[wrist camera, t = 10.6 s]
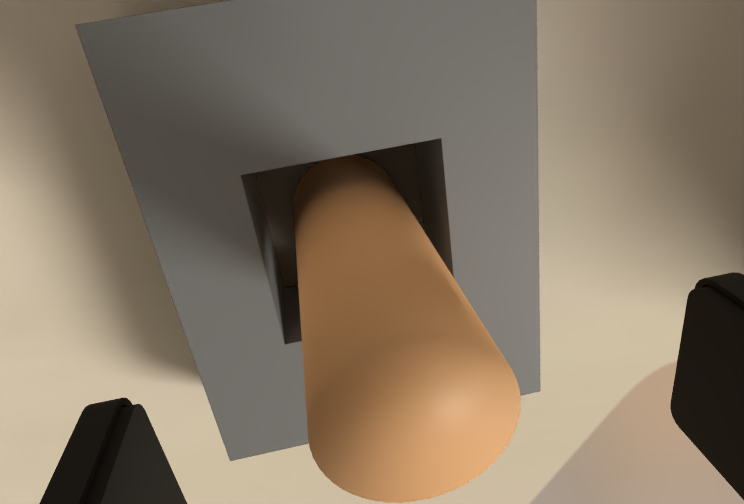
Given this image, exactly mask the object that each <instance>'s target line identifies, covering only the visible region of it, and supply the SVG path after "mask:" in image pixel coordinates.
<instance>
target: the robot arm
mask: <svg viewBox="0 0 744 504" xmlns="http://www.w3.org/2000/svg"><path fill="white" fill-rule="evenodd" d="M671 412H672V416H673V418H674V420H675V422H676V424H677V425H678V426H679V428H680V429H681V430H682V431H683V432H684V433H685V434H686V435H687V437H688V438H689V439H690V440H691V441H692V442H693V443H694V444H695V446H696V447H697V448H698V449H699V450H700V451H701V452H702V453H703V454H704V456H705V457H706V458H707V459H708V460H709V461H710V462H711V464H712V465H713V466H714V467H715V468H716V469H717V470H718V472H719V473H720V474H721V475H722V476H723V477H724V478H725V479H726V481H727V482H728V483H729V484H730V485H731V486H732V487H733V488H734V489H735V491H736V492H737V493H738V494H739V495H740V496H741V497H742V499H743V500H744V275H742V274H740V273H728V274H723V275H718V276H714V277H709V278H704V279H702V280H699V281H698V283H697V284H696V286H695V289H694V290H691V292H690V293H689V295H688V299H687V305H686V311H685V318H684V324H683V330H682V336H681V342H680V349H679V355H678V361H677V368H676V374H675V380H674V386H673V392H672V398H671ZM40 504H187V502H186V500H185V498H184V496H183V494H182V491H181V489H180V487H179V485H178V482H177V480H176V478H175V476H174V474H173V471H172V469H171V467H170V465H169V462H168V460H167V458H166V456H165V454H164V451H163V449H162V447H161V445H160V443H159V440H158V438H157V436H156V434H155V431H154V429H153V427H152V425H151V423H150V420H149V418H148V416H147V414H146V412H145V410H144V408H143V406H142V405H140V404H136V405H132V403H131V402H130V400H128V399H127V398H120V399H115V400H110V401H105V402H100V403H95V404H90V405H88V406H86V407H85V409H84V410H83V412H82V414H81V416H80V418H79V420H78V422H77V424H76V426H75V429H74V431H73V433H72V435H71V437H70V439H69V441H68V444H67V446H66V448H65V450H64V452H63V454H62V457H61V459H60V461H59V463H58V465H57V467H56V469H55V472H54V474H53V476H52V478H51V480H50V482H49V484H48V487H47V489H46V491H45V493H44V495H43V497H42V499H41V502H40Z"/></svg>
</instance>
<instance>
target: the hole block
mask: <svg viewBox="0 0 744 504" xmlns="http://www.w3.org/2000/svg"><path fill="white" fill-rule="evenodd" d="M75 26H76V29H77V32H78V35H79V38H80V40H81V43H82V46H83V49H84V52H85V54H86V57H87V60H88V63H89V66H90V68H91V71H92V74H93V77H94V80H95V83H96V85H97V88H98V91H99V94H100V97H101V99H102V102H103V105H104V108H105V111H106V113H107V116H108V119H109V122H110V125H111V128H112V130H113V133H114V136H115V139H116V142H117V144H118V147H119V150H120V153H121V156H122V158H123V161H124V164H125V167H126V170H127V173H128V175H129V178H130V181H131V184H132V187H133V189H134V192H135V195H136V198H137V201H138V203H139V206H140V209H141V212H142V215H143V218H144V220H145V223H146V226H147V229H148V232H149V234H150V237H151V240H152V243H153V246H154V248H155V251H156V254H157V257H158V260H159V262H160V265H161V268H162V271H163V274H164V277H165V279H166V282H167V285H168V288H169V291H170V293H171V296H172V299H173V302H174V305H175V307H176V310H177V313H178V316H179V319H180V322H181V324H182V327H183V330H184V333H185V336H186V338H187V341H188V344H189V347H190V350H191V352H192V355H193V358H194V361H195V364H196V367H197V369H198V372H199V375H200V378H201V381H202V383H203V386H204V389H205V392H206V395H207V397H208V400H209V403H210V406H211V409H212V411H213V414H214V417H215V420H216V423H217V426H218V428H219V431H220V434H221V437H222V440H223V442H224V445H225V448H226V451H227V454H228V456H229V459H230V461H233V460H237V459H242V458H246V457H251V456H255V455H260V454H264V453H268V452H273V451H277V450H282V449H286V448H291V447H295V446H300V445H304V444H308V443H309V440H308V429H307V413H306V398H305V382H304V366H303V351H302V335H301V320H300V304H299V289H298V286H294V287H289V288H284V287H283V283H282V279H281V275H280V271H279V267H278V263H277V259H276V255H275V251H274V246H273V242H272V238H271V234H270V230H269V226H268V222H267V218H266V214H265V210H264V206H263V202H262V198H261V194H260V190H259V186H258V182H257V178H256V174H255V172H260V171H266V170H271V169H277V168H282V167H288V166H293V165H298V164H304V163H309V162H315V161H320V160H326V159H331V158H336V157H342V156H347V155H353V154H358V153H364V152H369V151H374V150H380V149H385V148H391V147H396V146H402V145H407V144H412V143H415V147H416V156H417V165H418V174H419V183H420V192H421V201H422V210H423V219H424V228H425V234H426V235H427V237H428V238H429V240H430V241H431V243H432V245H433V246H434V248H435V249H436V251H437V252H438V254H439V256H440V257H441V259H442V260H443V262H444V263H445V265H446V267H447V268H448V270H449V271H450V273H451V274H452V276H453V278H454V279H455V281H456V282H457V284H458V286H459V287H460V289H461V290H462V292H463V293H464V295H465V297H466V298H467V300H468V301H469V303H470V304H471V306H472V308H473V309H474V311H475V312H476V314H477V315H478V317H479V319H480V320H481V322H482V323H483V325H484V326H485V328H486V330H487V331H488V333H489V334H490V336H491V337H492V339H493V341H494V342H495V344H496V345H497V347H498V348H499V350H500V352H501V353H502V355H503V356H504V358H505V359H506V361H507V363H508V364H509V366H510V367H511V369H512V371H513V373H514V375H515V377H516V379H517V382H518V386H519V389H520V396H521V395H526V394H530V393H535V392H539V391H540V309H539V209H538V109H537V8H536V0H229V1H222V2H216V3H210V4H203V5H197V6H191V7H185V8H178V9H172V10H166V11H159V12H153V13H147V14H140V15H134V16H128V17H121V18H115V19H109V20H103V21H96V22H90V23H84V24H77V25H75Z"/></svg>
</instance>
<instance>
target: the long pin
mask: <svg viewBox="0 0 744 504" xmlns="http://www.w3.org/2000/svg"><path fill="white" fill-rule="evenodd" d="M293 211H294V226H295V242H296V257H297V273H298V289H299V304H300V320H301V335H302V351H303V366H304V382H305V398H306V413H307V429H308V440H309V446H310V450H311V452H312V455H313V458H314V460H315V461H316V463H317V465H318V467H319V468H320V469H321V471H322V472H323V473H324V474H325V476H326V477H328V478H329V479H330V480H331V481H332V482H333V483H334V484H336V485H337V486H339V487H340V488H342V489H343V490H345V491H347V492H349V493H352V494H354V495H356V496H359V497H362V498H365V499H370V500H375V501H382V502H411V501H418V500H424V499H429V498H432V497H436V496H439V495H442V494H445V493H447V492H450V491H452V490H454V489H456V488H458V487H460V486H462V485H464V484H466V483H468V482H469V481H471V480H472V479H474V478H476V477H477V476H478V475H479V474H481V473H482V472H483V471H485V470H486V469H487V468H488V467H489V466H490V465H491V464H492V463H493V462H494V461H495V460H496V459H497V458H498V457H499V456H500V455H501V453H502V452H503V451H504V449H505V448H506V446H507V445H508V443H509V442H510V440H511V438H512V436H513V434H514V432H515V429H516V426H517V423H518V420H519V415H520V407H521V397H520V389H519V386H518V382H517V379H516V377H515V375H514V373H513V371H512V369H511V367H510V366H509V364H508V363H507V361H506V359H505V358H504V356H503V355H502V353H501V352H500V350H499V348H498V347H497V345H496V344H495V342H494V341H493V339H492V337H491V336H490V334H489V333H488V331H487V330H486V328H485V326H484V325H483V323H482V322H481V320H480V319H479V317H478V315H477V314H476V312H475V311H474V309H473V308H472V306H471V304H470V303H469V301H468V300H467V298H466V297H465V295H464V293H463V292H462V290H461V289H460V287H459V286H458V284H457V282H456V281H455V279H454V278H453V276H452V274H451V273H450V271H449V270H448V268H447V267H446V265H445V263H444V262H443V260H442V259H441V257H440V256H439V254H438V252H437V251H436V249H435V248H434V246H433V245H432V243H431V241H430V240H429V238H428V237H427V235H426V234H425V232H424V230H423V229H422V227H421V226H420V224H419V223H418V221H417V219H416V218H415V216H414V215H413V213H412V212H411V210H410V208H409V207H408V205H407V204H406V202H405V201H404V199H403V197H402V196H401V194H400V193H399V191H398V190H397V188H396V186H395V185H394V183H393V182H392V180H391V179H390V177H389V176H388V174H387V173H386V172H385V171H384V170H383V169H382V168H381V167H380V166H379V165H378V164H376V163H375V162H373V161H371V160H369V159H367V158H365V157H361V156H357V155H347V156H342V157H336V158H331V159H326V160H322V161H320V162H318V163H317V164H315V165H314V166H313V167H311V168H310V169H309V170H308V171H307V172H306V173H305V175H304V176H303V177H302V179H301V180H300V182H299V184H298V186H297V188H296V191H295V195H294V201H293Z"/></svg>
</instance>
